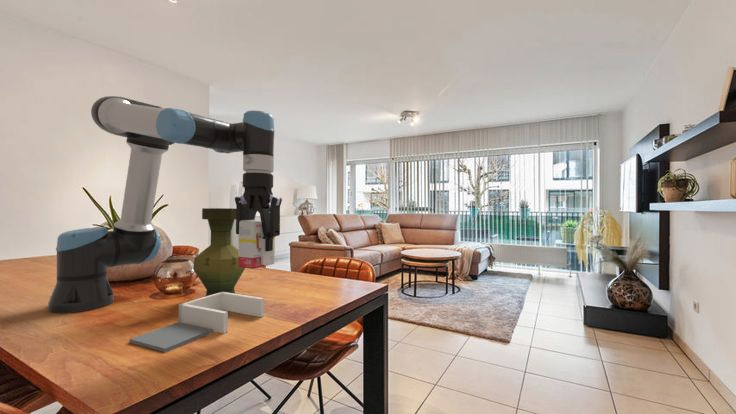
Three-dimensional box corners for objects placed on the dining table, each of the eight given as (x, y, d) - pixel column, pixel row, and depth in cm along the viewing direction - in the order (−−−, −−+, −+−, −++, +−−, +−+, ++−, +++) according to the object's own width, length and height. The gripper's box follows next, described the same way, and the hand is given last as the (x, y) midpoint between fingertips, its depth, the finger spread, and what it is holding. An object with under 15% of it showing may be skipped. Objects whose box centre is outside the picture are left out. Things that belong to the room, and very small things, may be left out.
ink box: (252, 269, 81) (253, 221, 81) (237, 267, 83) (237, 220, 83) (275, 264, 89) (276, 219, 89) (261, 262, 91) (261, 219, 91)
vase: (229, 290, 122) (230, 208, 121) (256, 297, 112) (257, 208, 112) (183, 300, 108) (183, 208, 108) (209, 310, 99) (210, 209, 99)
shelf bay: (178, 323, 88) (178, 304, 88) (222, 308, 101) (222, 291, 101) (223, 333, 81) (223, 313, 81) (264, 315, 94) (264, 298, 94)
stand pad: (129, 342, 75) (129, 338, 75) (178, 325, 86) (178, 322, 86) (165, 352, 71) (165, 348, 71) (212, 332, 82) (212, 329, 82)
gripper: (220, 172, 86) (219, 262, 86) (277, 170, 79) (275, 268, 79) (242, 174, 93) (241, 258, 93) (295, 173, 86) (294, 263, 86)
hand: (257, 262), depth 86 cm, fingers closed on ink box, 5 cm apart
